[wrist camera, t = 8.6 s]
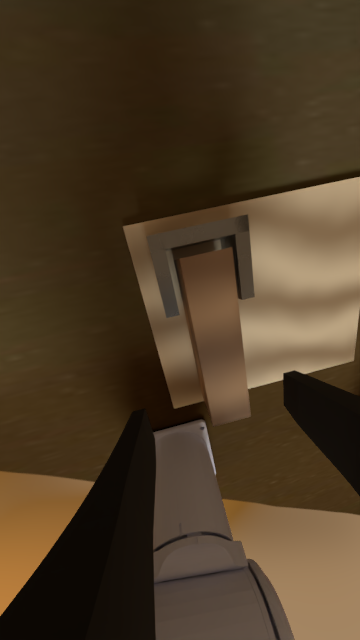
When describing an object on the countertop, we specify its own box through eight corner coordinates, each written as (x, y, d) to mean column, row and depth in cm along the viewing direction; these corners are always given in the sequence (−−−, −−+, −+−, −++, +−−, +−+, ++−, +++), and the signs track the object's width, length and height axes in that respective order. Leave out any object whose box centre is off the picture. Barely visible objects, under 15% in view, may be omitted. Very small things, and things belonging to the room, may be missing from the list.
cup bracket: (237, 291, 16) (254, 297, 14) (164, 308, 16) (166, 318, 13) (230, 223, 15) (248, 214, 12) (148, 241, 14) (146, 236, 11)
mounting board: (346, 357, 21) (353, 360, 21) (173, 403, 20) (174, 408, 19) (364, 177, 16) (374, 173, 15) (124, 228, 15) (122, 226, 14)
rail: (232, 386, 20) (250, 416, 16) (202, 394, 19) (213, 426, 16) (213, 251, 15) (232, 246, 11) (173, 259, 15) (179, 258, 11)
